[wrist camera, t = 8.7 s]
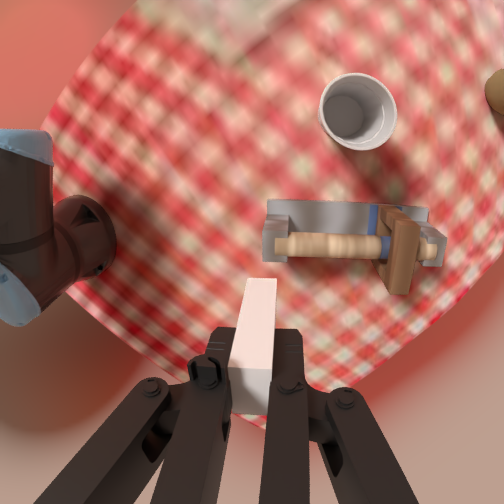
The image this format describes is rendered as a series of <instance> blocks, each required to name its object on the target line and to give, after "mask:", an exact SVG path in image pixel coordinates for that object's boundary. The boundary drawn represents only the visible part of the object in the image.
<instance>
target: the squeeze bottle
mask: <svg viewBox="0 0 504 504" xmlns="http://www.w3.org/2000/svg"><path fill="white" fill-rule="evenodd" d="M485 95H486V99H487V101H488V103H489V105H490V106H491V107H492V108H493V110H495V111H497V112H499V113H500V114H502V115H504V69H500V70H498V71H496V72H495V73H494V74H493V75H492V76H491V77H490V78H489V79H488V80H487V82H486V84H485Z"/></svg>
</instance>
